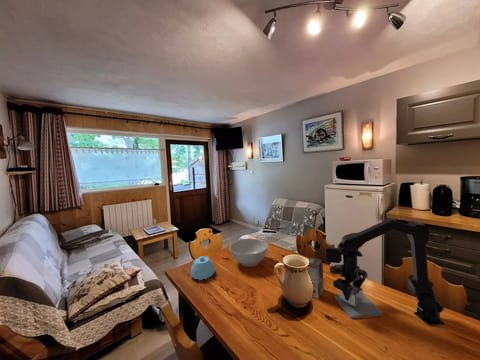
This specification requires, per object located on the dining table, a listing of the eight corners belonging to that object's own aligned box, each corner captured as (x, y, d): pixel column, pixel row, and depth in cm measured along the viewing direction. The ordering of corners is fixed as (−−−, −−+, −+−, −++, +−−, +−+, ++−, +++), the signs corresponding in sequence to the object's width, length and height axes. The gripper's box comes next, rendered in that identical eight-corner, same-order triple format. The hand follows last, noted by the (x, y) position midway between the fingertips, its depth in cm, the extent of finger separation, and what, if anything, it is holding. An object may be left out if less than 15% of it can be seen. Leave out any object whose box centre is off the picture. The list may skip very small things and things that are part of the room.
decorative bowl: (225, 259, 143) (223, 243, 142) (257, 251, 154) (256, 236, 153) (240, 277, 119) (239, 258, 118) (277, 265, 130) (276, 247, 129)
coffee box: (311, 285, 107) (310, 256, 106) (324, 289, 102) (323, 259, 101) (305, 294, 100) (304, 263, 99) (318, 299, 95) (317, 267, 94)
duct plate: (362, 295, 96) (362, 282, 96) (383, 315, 83) (382, 300, 83) (334, 298, 95) (334, 285, 95) (351, 318, 82) (350, 304, 82)
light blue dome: (213, 280, 117) (211, 262, 117) (188, 282, 118) (186, 263, 117) (216, 267, 132) (215, 251, 132) (194, 269, 133) (193, 252, 132)
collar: (363, 299, 89) (362, 289, 89) (355, 306, 85) (354, 295, 85) (347, 292, 95) (347, 282, 94) (339, 298, 91) (339, 287, 91)
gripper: (343, 252, 101) (345, 281, 102) (321, 263, 91) (323, 296, 92) (367, 259, 91) (368, 291, 92) (345, 274, 81) (347, 309, 82)
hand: (351, 296), depth 90 cm, fingers closed on collar, 7 cm apart
